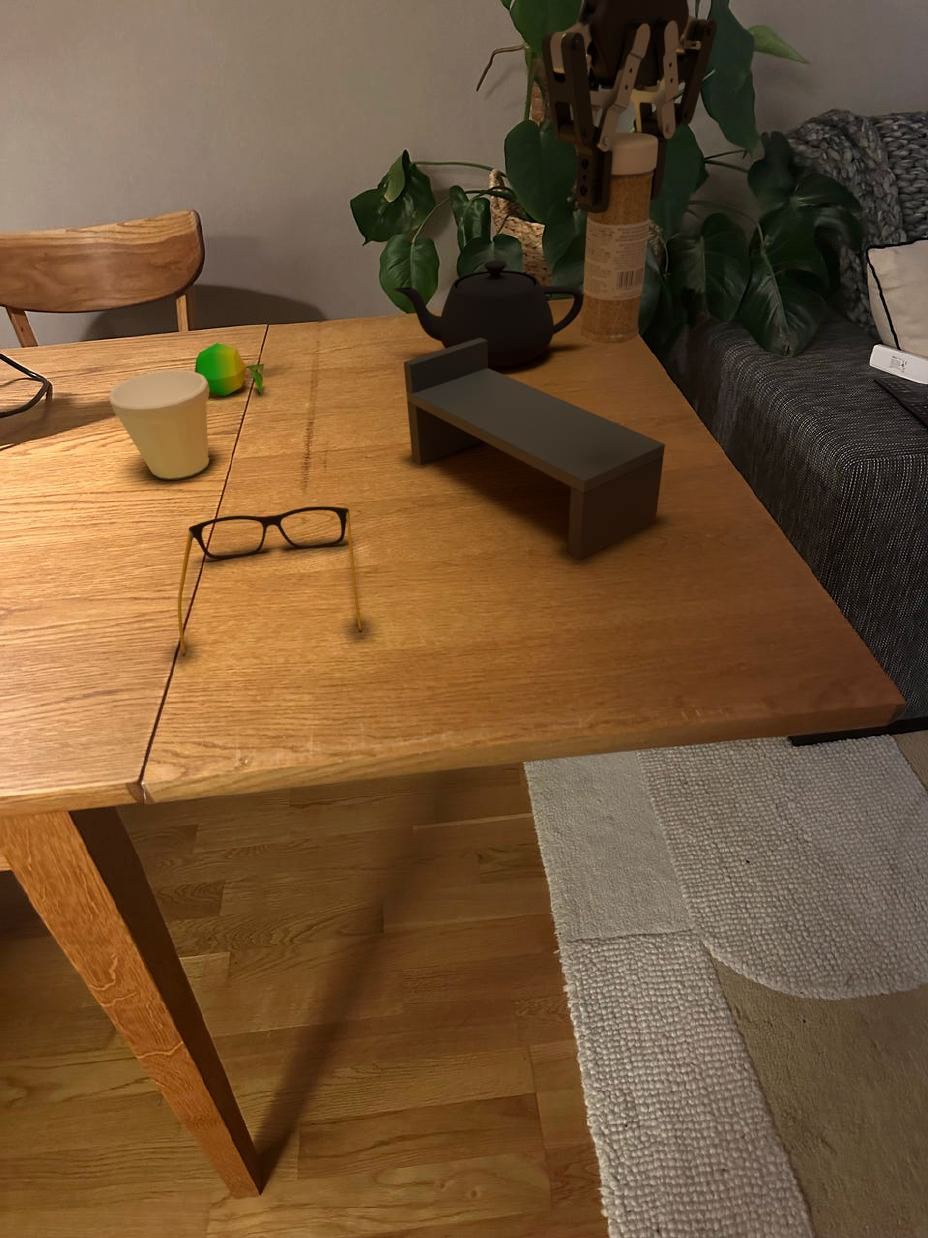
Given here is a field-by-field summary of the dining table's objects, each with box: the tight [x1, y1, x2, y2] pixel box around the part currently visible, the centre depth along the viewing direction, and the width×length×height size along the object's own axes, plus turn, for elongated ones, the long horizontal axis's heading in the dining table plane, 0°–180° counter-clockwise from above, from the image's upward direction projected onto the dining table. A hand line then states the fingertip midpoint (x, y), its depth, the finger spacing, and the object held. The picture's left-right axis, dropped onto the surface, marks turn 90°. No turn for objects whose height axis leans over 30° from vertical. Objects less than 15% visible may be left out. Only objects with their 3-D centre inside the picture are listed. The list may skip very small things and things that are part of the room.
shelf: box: [403, 338, 666, 561], centre depth 79 cm, size 26×10×11 cm, turn 38°
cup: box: [107, 369, 210, 481], centre depth 86 cm, size 10×10×9 cm
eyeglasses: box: [177, 505, 362, 654], centre depth 69 cm, size 14×14×4 cm
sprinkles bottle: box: [579, 132, 658, 345], centre depth 58 cm, size 5×5×13 cm
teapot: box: [393, 259, 584, 370], centre depth 108 cm, size 25×16×12 cm, turn 93°
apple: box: [194, 342, 265, 397], centre depth 104 cm, size 7×6×9 cm
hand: (619, 203), depth 57 cm, fingers closed on sprinkles bottle, 4 cm apart
